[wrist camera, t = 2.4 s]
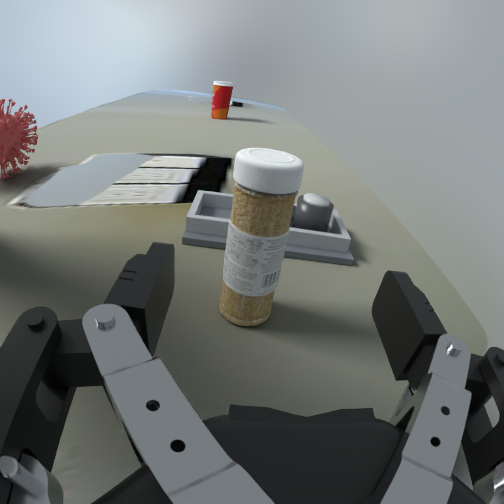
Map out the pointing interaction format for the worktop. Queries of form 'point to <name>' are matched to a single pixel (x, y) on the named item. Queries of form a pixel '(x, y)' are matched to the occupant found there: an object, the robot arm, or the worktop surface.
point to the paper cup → (221, 99)
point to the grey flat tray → (301, 226)
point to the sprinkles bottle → (258, 232)
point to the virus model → (14, 138)
